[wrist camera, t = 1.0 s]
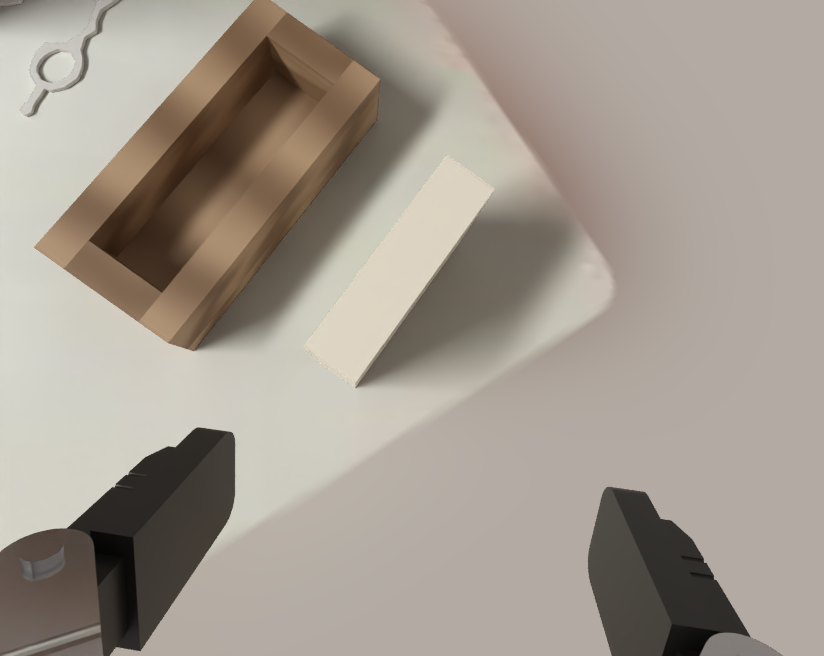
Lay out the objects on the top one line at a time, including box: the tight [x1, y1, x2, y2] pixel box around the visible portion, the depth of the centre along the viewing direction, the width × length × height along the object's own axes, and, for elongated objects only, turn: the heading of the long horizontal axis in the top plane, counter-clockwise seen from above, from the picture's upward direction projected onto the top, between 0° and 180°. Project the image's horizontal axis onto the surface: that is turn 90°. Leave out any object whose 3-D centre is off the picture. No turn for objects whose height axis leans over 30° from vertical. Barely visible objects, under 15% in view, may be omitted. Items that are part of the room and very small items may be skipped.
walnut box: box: [34, 0, 380, 351], centre depth 34 cm, size 20×9×5 cm, turn 145°
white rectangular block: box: [304, 155, 495, 388], centre depth 31 cm, size 12×3×10 cm, turn 145°
